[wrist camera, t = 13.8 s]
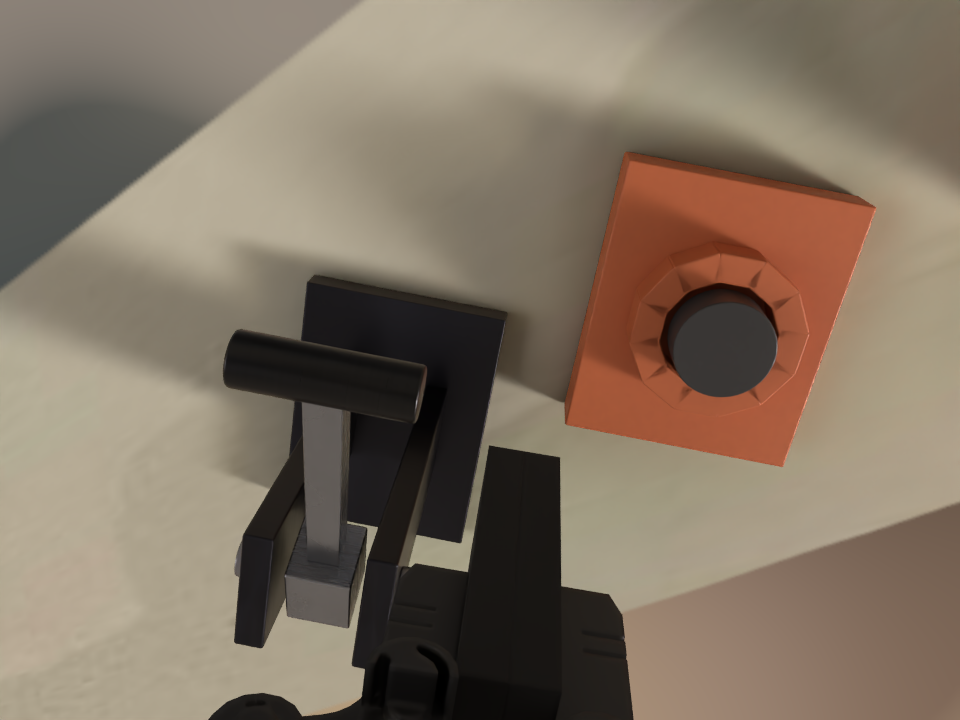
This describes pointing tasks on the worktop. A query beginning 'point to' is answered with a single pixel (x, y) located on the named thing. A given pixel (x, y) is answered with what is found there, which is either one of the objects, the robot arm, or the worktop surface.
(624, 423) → the button block
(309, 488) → the lever
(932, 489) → the worktop surface
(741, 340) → the button
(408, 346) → the bracket
